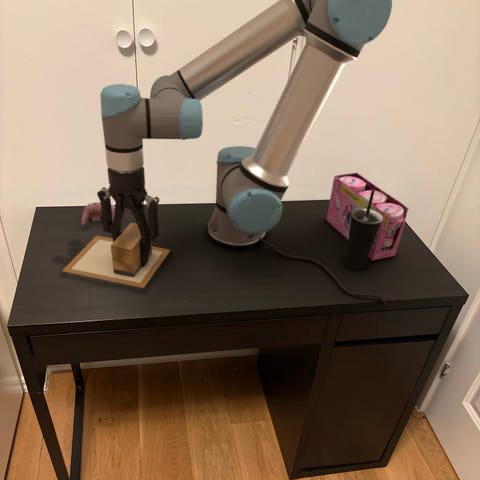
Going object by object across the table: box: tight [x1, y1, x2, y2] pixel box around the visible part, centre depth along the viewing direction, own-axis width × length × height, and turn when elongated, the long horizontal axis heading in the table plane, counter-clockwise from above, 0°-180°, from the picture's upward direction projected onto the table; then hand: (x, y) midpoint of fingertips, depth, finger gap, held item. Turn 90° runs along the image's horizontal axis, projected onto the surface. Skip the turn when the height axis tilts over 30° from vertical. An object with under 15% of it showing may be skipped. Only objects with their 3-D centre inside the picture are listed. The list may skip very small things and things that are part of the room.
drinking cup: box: [345, 190, 383, 271], centre depth 122 cm, size 8×8×20 cm
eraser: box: [111, 222, 153, 277], centre depth 118 cm, size 5×11×8 cm, turn 165°
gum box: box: [325, 172, 410, 261], centre depth 134 cm, size 24×8×14 cm, turn 24°
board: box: [61, 235, 171, 289], centre depth 122 cm, size 20×17×1 cm
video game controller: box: [80, 201, 115, 226], centre depth 134 cm, size 10×5×7 cm, turn 84°
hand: (133, 261), depth 120 cm, fingers closed on eraser, 5 cm apart
